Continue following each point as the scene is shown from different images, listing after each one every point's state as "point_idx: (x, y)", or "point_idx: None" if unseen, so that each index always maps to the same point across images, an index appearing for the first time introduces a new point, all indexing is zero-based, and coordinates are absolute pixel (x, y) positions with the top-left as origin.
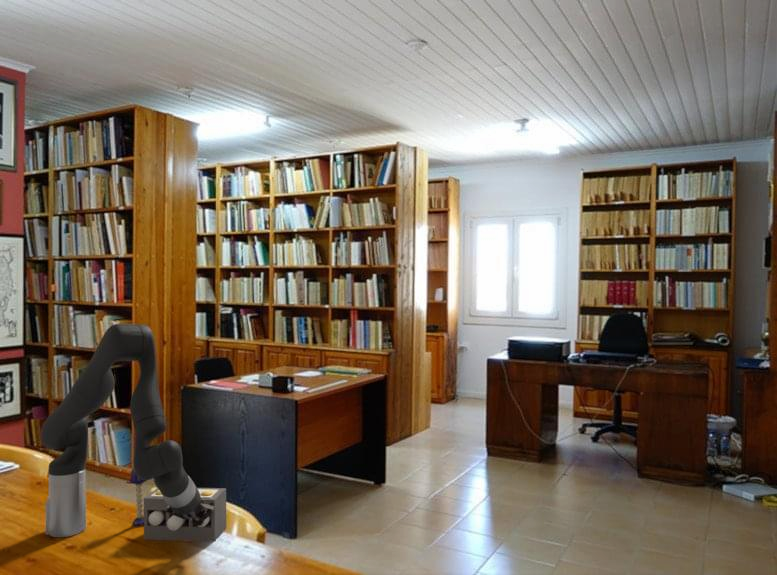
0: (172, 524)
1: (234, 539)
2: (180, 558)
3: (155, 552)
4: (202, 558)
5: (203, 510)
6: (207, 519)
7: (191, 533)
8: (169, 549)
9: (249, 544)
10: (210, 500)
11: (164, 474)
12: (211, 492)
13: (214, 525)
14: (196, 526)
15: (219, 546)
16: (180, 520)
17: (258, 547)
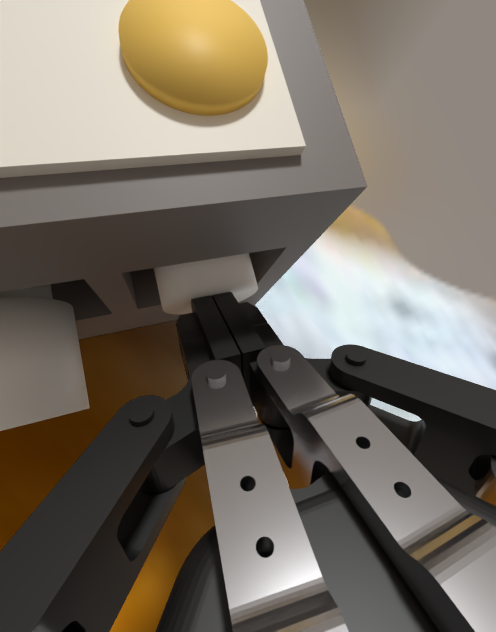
0: (17, 426)
1: (320, 262)
2: (208, 519)
3: (15, 517)
4: None
5: (360, 391)
6: (257, 288)
7: (135, 319)
8: (79, 451)
9: (401, 289)
10: (324, 196)
11: None
12: (243, 29)
13: (277, 279)
14: (158, 294)
15: (303, 340)
16: (73, 389)
17: (444, 304)
